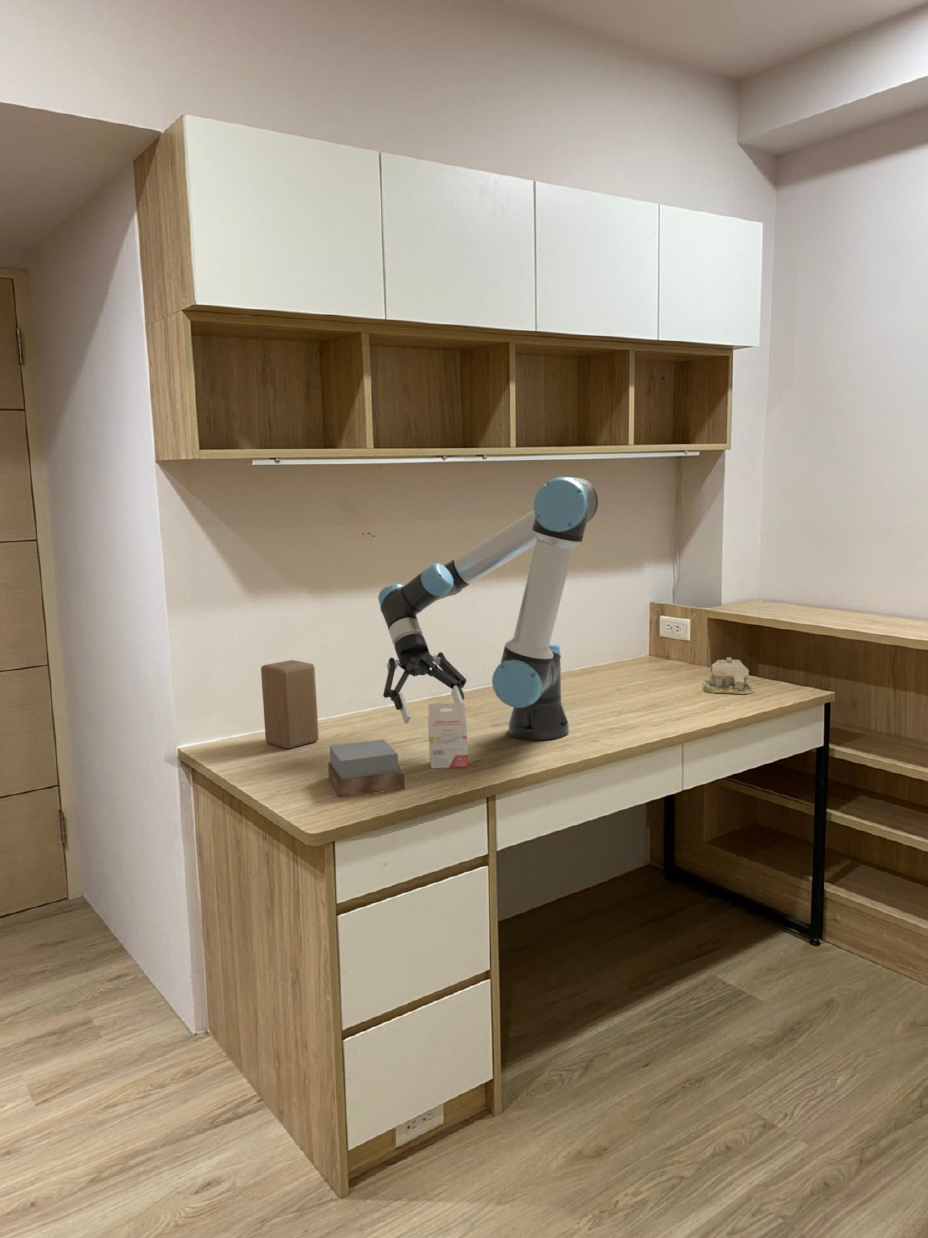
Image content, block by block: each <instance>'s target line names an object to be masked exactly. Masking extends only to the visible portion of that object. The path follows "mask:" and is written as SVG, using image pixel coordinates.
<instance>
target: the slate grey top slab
mask: <svg viewBox="0 0 928 1238" xmlns="http://www.w3.org/2000/svg"><path fill="white" fill-rule="evenodd" d="M329 755H330V756H329V757H330V762H331V765H332V766H333V768H334V769H335V771H336V772H337V774H338V775H339V776H340V778H341V779H342V780H344V779H351V778H359V777H366V776H374V775H381V774H388V773H396V772H398V765H399V755H398V752H397V751H396V750H395V749H394V748H393V747H392V746H391V745H390V744H389V743H388V742H387V741H386V740H385V739H377V740H376V739H375V740H369V741H361V742H354V743H353V742H351V743H343V744H336V745H329Z"/></svg>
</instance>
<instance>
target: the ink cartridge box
mask: <svg viewBox="0 0 928 1238" xmlns="http://www.w3.org/2000/svg"><path fill="white" fill-rule="evenodd" d="M464 705H465V702H464V703H455V702H454V703H453V702H449V703H430V704H428V716H427V717H428V718H427V722H428V743H429V744H428V745H429V760H430V761H429V762H430V768H431V769H448V768H449V769H451V768H468V767H469V752H468V751H469V750H468V748H469V747H468V733H467V732H468V731H467V730H468V729H467V718H466V717H467V716H466V710H465V708H466V707H465V708H464ZM445 708H448V709H452V710H449V711H446V710H445V711H441V710H442V709H443V710H444V709H445Z"/></svg>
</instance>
